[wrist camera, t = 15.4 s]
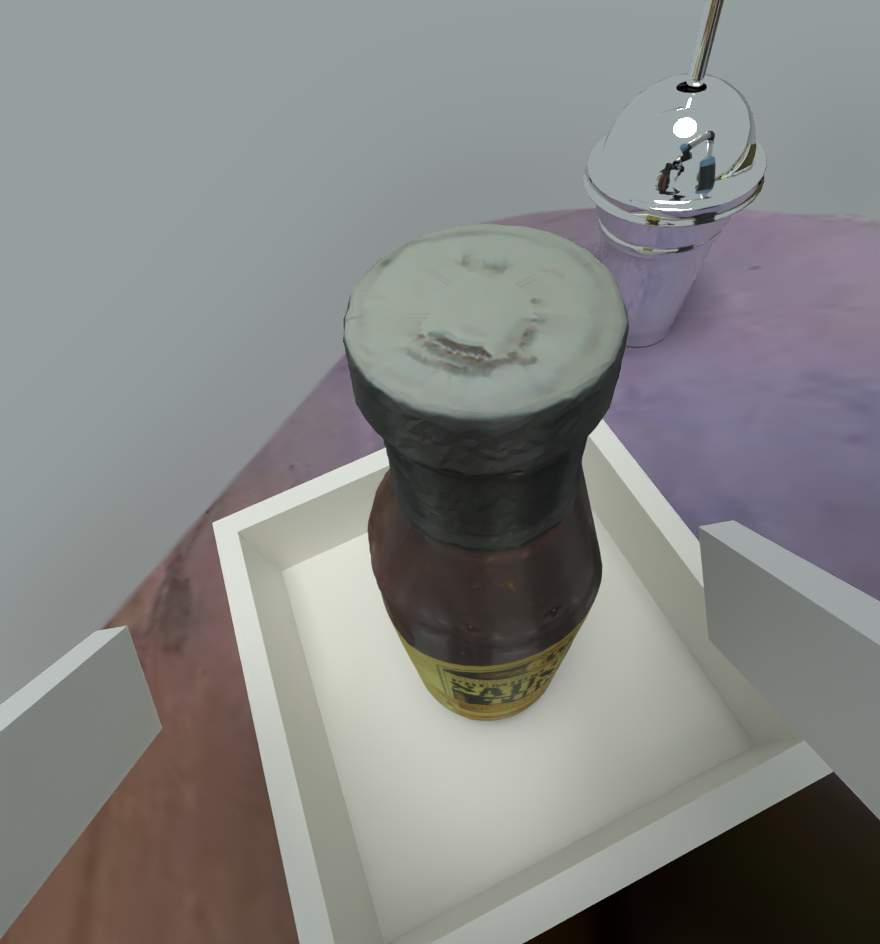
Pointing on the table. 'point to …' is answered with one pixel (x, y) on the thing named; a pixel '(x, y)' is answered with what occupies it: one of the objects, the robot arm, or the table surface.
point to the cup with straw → (672, 185)
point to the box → (489, 727)
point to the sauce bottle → (485, 451)
